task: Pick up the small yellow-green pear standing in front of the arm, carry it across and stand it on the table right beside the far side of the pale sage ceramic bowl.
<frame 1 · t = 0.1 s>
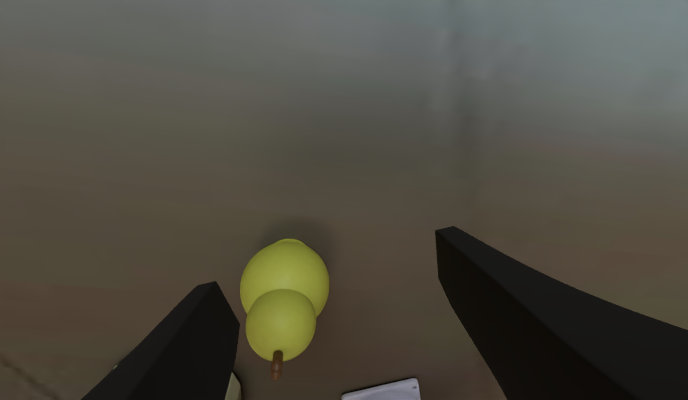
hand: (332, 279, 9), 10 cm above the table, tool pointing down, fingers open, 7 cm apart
pear: (289, 256, 21), on the table
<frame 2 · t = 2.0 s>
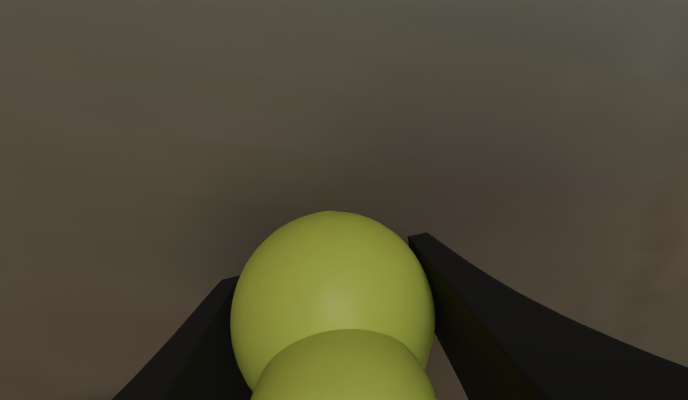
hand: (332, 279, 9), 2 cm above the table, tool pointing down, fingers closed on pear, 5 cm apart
pear: (328, 246, 11), on the table, touching gripper
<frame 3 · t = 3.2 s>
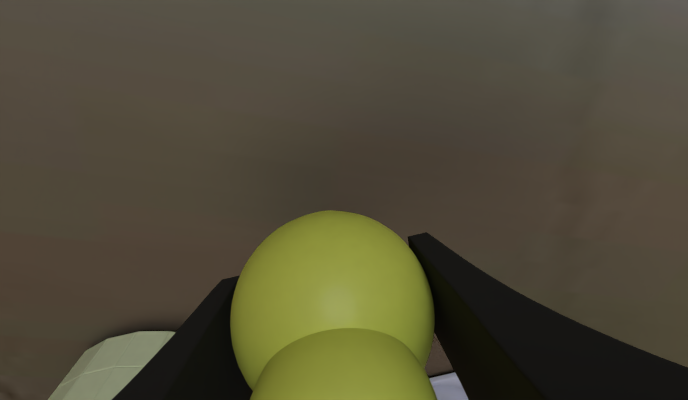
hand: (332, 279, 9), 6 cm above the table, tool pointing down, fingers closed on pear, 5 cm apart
pear: (328, 246, 11), point 5 cm above the table, touching gripper
bowl: (171, 380, 20), on the table
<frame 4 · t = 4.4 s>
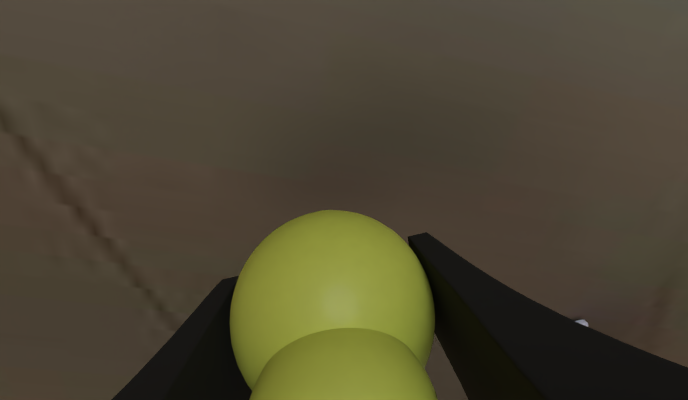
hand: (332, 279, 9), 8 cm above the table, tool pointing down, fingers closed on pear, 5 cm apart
pear: (328, 246, 11), point 7 cm above the table, touching gripper
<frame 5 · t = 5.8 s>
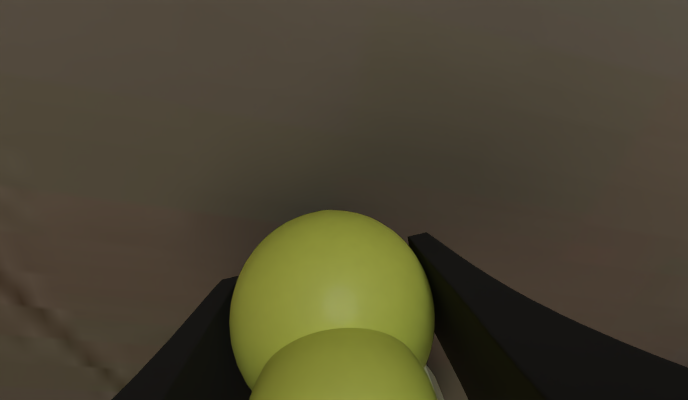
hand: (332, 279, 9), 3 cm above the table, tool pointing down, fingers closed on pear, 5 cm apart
pear: (328, 246, 11), point 1 cm above the table, touching gripper
when the fingers open (2 cm above the table, at t = 6.6 s): pear stays where it is, on the table.
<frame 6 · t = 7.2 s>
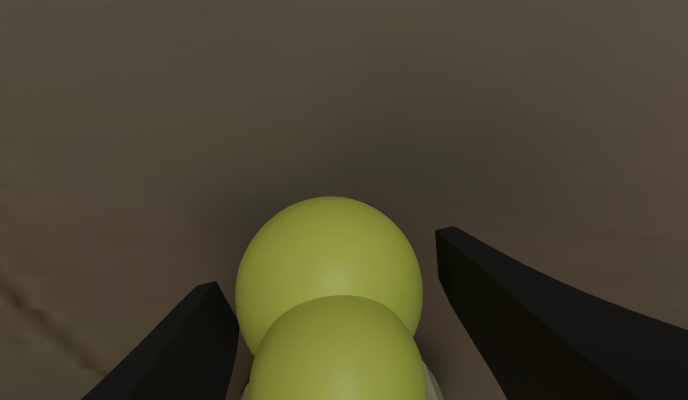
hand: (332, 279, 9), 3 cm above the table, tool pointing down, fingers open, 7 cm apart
pear: (326, 233, 12), on the table
bowl: (339, 399, 17), on the table
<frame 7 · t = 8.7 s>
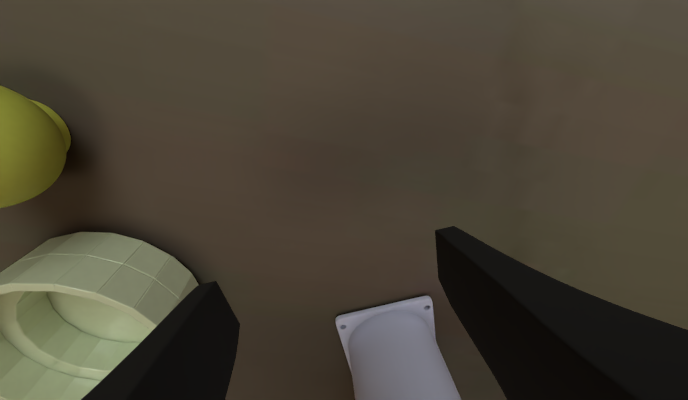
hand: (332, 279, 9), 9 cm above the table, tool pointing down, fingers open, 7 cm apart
pear: (36, 130, 15), on the table
bowl: (122, 295, 20), on the table
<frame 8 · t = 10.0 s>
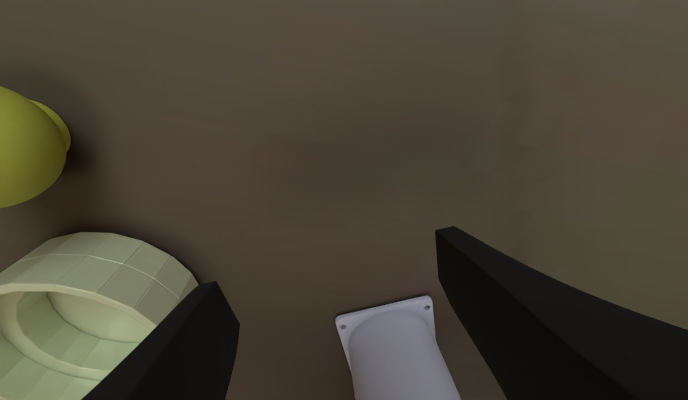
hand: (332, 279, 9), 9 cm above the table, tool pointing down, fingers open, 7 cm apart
pear: (36, 130, 15), on the table
bowl: (122, 295, 20), on the table
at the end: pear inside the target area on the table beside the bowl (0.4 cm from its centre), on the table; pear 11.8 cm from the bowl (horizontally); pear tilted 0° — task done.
